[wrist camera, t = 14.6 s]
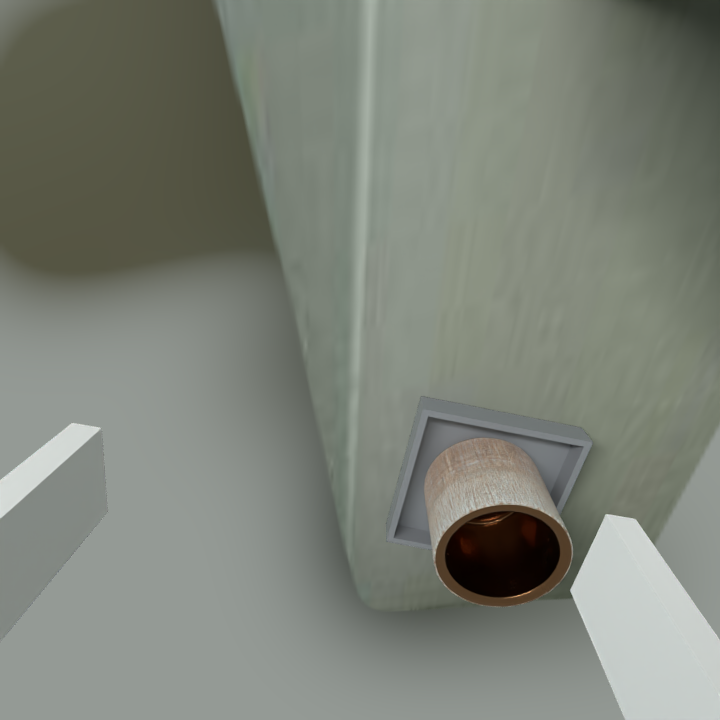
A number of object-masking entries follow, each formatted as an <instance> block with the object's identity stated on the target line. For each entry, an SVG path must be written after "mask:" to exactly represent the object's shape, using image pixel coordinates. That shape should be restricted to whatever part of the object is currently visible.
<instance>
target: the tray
mask: <svg viewBox="0 0 720 720" xmlns="http://www.w3.org/2000/svg"><path fill="white" fill-rule="evenodd" d="M481 437H488V438H497V439H501V440H505V441H508V442H510V443H512V444H514V445H516V446H518V447H519V448H521V449H522V450H523V451H524V452H525V453H527V455H528V456H529V457H530V458H531V459H532V461H533V462H534V463H535V465H536V467H537V469H538V471H539V473H540V475H541V477H542V479H543V481H544V483H545V486H546V488H547V490H548V492H549V494H550V496H551V498H552V500H553V502H554V504H555V507H556V509H557V511H558V513H559V515H560V514H561V512H562V510H563V507H564V505H565V503H566V501H567V499H568V497H569V494H570V492H571V490H572V488H573V486H574V483H575V481H576V479H577V477H578V475H579V472H580V470H581V468H582V466H583V464H584V461H585V459H586V457H587V455H588V453H589V450H590V448H591V446H592V444H593V442H592V440H591V439H590V438H589V436H588V435H587V434H586V432H585V431H584V430H583V429H582V428H581V427H576V426H571V425H566V424H560V423H555V422H550V421H545V420H540V419H535V418H530V417H525V416H520V415H515V414H510V413H505V412H499V411H494V410H489V409H484V408H479V407H474V406H469V405H464V404H459V403H454V402H449V401H443V400H438V399H433V398H428V397H423V396H421V398H420V402H419V405H418V409H417V413H416V416H415V420H414V424H413V427H412V431H411V435H410V438H409V442H408V446H407V449H406V453H405V457H404V460H403V464H402V468H401V471H400V475H399V479H398V482H397V486H396V490H395V493H394V497H393V501H392V504H391V508H390V512H389V515H388V519H387V523H386V542H391V543H397V544H402V545H407V546H412V547H418V548H423V549H428V550H432V545H431V537H430V530H429V523H428V516H427V510H426V503H425V495H424V484H425V477H426V474H427V471H428V469H429V467H430V465H431V464H432V462H433V461H434V460H435V458H436V457H437V456H438V455H439V454H440V453H441V452H443V451H444V450H445V449H447V448H448V447H450V446H452V445H454V444H456V443H458V442H461V441H464V440H468V439H472V438H481Z"/></svg>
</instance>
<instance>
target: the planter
mask: <svg viewBox="0 0 720 720" xmlns="http://www.w3.org/2000/svg"><path fill="white" fill-rule="evenodd" d="M424 495H425V503H426V510H427V516H428V523H429V530H430V537H431V545H432V553H433V560H434V566H435V570H436V573H437V575H438V577H439V579H440V580H441V582H442V583H443V584H444V585H445V587H446V588H447V589H449V590H450V591H451V592H452V593H453V594H455V595H456V596H458V597H460V598H462V599H464V600H466V601H468V602H471V603H474V604H478V605H482V606H489V607H509V606H516V605H521V604H525V603H528V602H531V601H533V600H536V599H538V598H540V597H542V596H544V595H545V594H547V593H548V592H550V591H551V590H553V589H554V588H555V587H556V586H557V585H558V584H559V583H560V582H561V581H562V580H563V578H564V577H565V576H566V574H567V572H568V570H569V568H570V566H571V563H572V558H573V545H572V541H571V538H570V535H569V533H568V531H567V529H566V527H565V525H564V523H563V521H562V519H561V517H560V515H559V513H558V511H557V509H556V507H555V504H554V502H553V500H552V498H551V496H550V494H549V492H548V490H547V488H546V486H545V483H544V481H543V479H542V477H541V475H540V473H539V471H538V469H537V467H536V465H535V463H534V462H533V461H532V459H531V458H530V457H529V456H528V455H527V453H525V452H524V451H523V450H522V449H521V448H519V447H518V446H516V445H514V444H512V443H510V442H508V441H505V440H501V439H497V438H488V437H481V438H472V439H468V440H464V441H461V442H458V443H456V444H454V445H452V446H450V447H448V448H447V449H445V450H444V451H443V452H441V453H440V454H439V455H438V456H437V457H436V458H435V460H434V461H433V462H432V464H431V465H430V467H429V469H428V471H427V474H426V477H425V484H424Z"/></svg>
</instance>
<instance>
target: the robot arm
mask: <svg viewBox="0 0 720 720" xmlns="http://www.w3.org/2000/svg"><path fill="white" fill-rule="evenodd" d="M107 512H108V507H107V493H106V480H105V466H104V452H103V439H102V428H99V427H93V426H87V425H81V424H75V423H72V424H70V425H69V426H68V427H67V428H65V429H64V430H63V431H62V432H60V433H59V434H58V435H56V436H55V437H54V438H53V439H52V440H50V441H49V442H48V443H47V444H45V445H44V446H43V447H41V448H40V449H39V450H38V451H36V452H35V453H34V454H33V455H31V456H30V457H29V458H28V459H26V460H25V461H24V462H23V463H21V464H20V465H19V466H18V467H16V468H15V469H14V470H13V471H11V472H10V473H9V474H8V475H6V476H5V477H4V478H3V479H1V480H0V642H1V641H2V639H3V638H4V637H5V636H6V635H7V633H8V632H9V631H10V630H11V629H12V627H13V626H14V625H15V624H16V623H17V621H18V620H19V619H20V618H21V617H22V615H23V614H24V613H25V612H26V610H27V609H28V608H29V607H30V606H31V604H32V603H33V602H34V601H35V599H36V598H37V597H38V596H39V595H40V593H41V592H42V591H43V590H44V589H45V587H46V586H47V585H48V584H49V582H50V581H51V580H52V579H53V578H54V576H55V575H56V574H57V573H58V572H59V570H60V569H61V568H62V567H63V566H64V564H65V563H66V562H67V561H68V560H69V558H70V557H71V556H72V555H73V554H74V552H75V551H76V550H77V549H78V547H79V546H80V545H81V544H82V543H83V541H84V540H85V539H86V538H87V537H88V535H89V534H90V533H91V532H92V531H93V529H94V528H95V527H96V526H97V524H98V523H99V522H100V521H101V520H102V518H103V517H104V516H105V515H106V513H107ZM570 591H571V594H572V596H573V598H574V601H575V603H576V605H577V608H578V610H579V612H580V615H581V617H582V619H583V622H584V624H585V627H586V629H587V631H588V633H589V636H590V638H591V640H592V643H593V645H594V648H595V650H596V652H597V655H598V657H599V659H600V662H601V664H602V667H603V669H604V671H605V673H606V676H607V678H608V681H609V683H610V685H611V688H612V690H613V692H614V695H615V697H616V700H617V702H618V704H619V706H620V709H621V711H622V713H623V716H624V718H625V720H720V640H719V638H718V637H717V635H716V634H715V632H714V631H713V630H712V628H711V627H710V625H709V624H708V622H707V621H706V620H705V618H704V617H703V615H702V614H701V612H700V611H699V609H698V608H697V607H696V605H695V604H694V602H693V601H692V599H691V598H690V597H689V595H688V594H687V592H686V591H685V589H684V588H683V586H682V585H681V584H680V582H679V581H678V580H677V578H676V577H675V575H674V574H673V572H672V571H671V569H670V568H669V566H668V565H667V564H666V562H665V561H664V559H663V558H662V556H661V555H660V554H659V552H658V551H657V549H656V548H655V546H654V545H653V543H652V542H651V541H650V539H649V538H648V536H647V535H646V533H645V532H644V531H643V529H642V528H641V526H640V525H639V523H638V522H637V520H636V519H632V518H627V517H621V516H615V515H609V514H606V515H605V518H604V520H603V522H602V524H601V526H600V528H599V530H598V532H597V535H596V537H595V539H594V541H593V543H592V545H591V547H590V549H589V552H588V554H587V556H586V558H585V560H584V562H583V564H582V566H581V569H580V571H579V573H578V575H577V577H576V579H575V581H574V583H573V586H572V588H571V590H570Z"/></svg>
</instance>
